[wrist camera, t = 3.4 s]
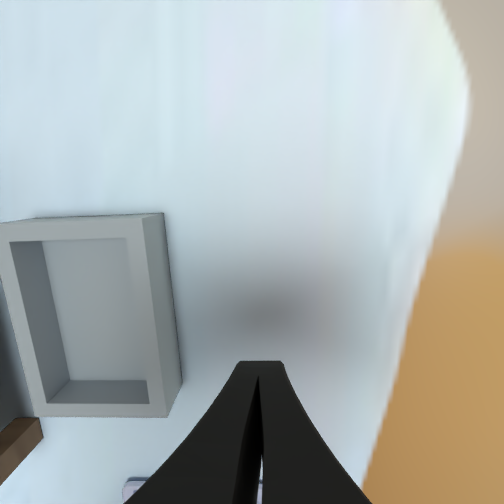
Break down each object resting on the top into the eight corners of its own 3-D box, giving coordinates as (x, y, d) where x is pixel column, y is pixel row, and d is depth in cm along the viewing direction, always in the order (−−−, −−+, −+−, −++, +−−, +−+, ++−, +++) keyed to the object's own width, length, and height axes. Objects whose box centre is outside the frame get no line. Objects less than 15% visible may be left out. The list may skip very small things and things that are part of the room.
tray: (163, 213, 15) (141, 218, 12) (182, 383, 17) (167, 417, 14) (34, 218, 15) (-13, 224, 13) (68, 383, 17) (35, 416, 15)
